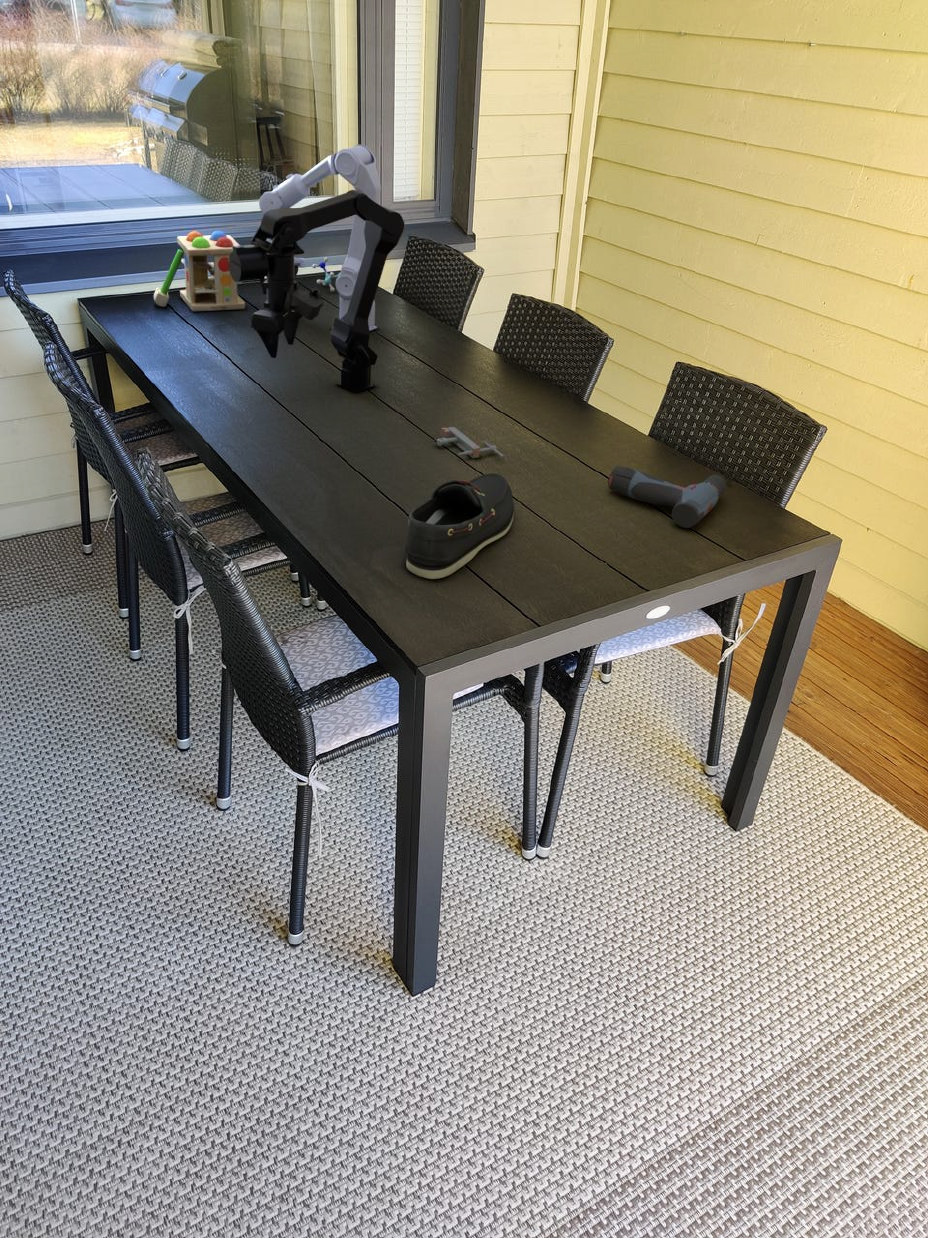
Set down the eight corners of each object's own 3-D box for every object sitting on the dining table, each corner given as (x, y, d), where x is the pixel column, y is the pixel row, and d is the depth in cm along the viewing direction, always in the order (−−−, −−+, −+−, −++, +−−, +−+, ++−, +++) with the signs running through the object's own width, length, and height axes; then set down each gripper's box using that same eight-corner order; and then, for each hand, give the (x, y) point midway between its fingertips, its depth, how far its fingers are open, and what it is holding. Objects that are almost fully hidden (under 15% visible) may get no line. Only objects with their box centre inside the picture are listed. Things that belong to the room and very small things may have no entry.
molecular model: (344, 283, 280) (333, 248, 279) (317, 296, 284) (305, 261, 282) (361, 286, 290) (350, 252, 289) (334, 298, 294) (323, 265, 293)
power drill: (637, 467, 202) (729, 498, 194) (598, 499, 188) (695, 533, 180) (642, 443, 199) (736, 473, 191) (602, 474, 185) (701, 507, 177)
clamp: (428, 429, 204) (470, 423, 208) (427, 439, 205) (469, 432, 209) (464, 459, 193) (507, 451, 198) (463, 469, 194) (506, 461, 199)
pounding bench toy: (159, 313, 256) (153, 242, 246) (148, 297, 266) (141, 228, 256) (246, 308, 265) (243, 239, 255) (232, 293, 276) (228, 226, 266)
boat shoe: (539, 516, 182) (544, 464, 176) (440, 585, 158) (443, 528, 152) (480, 497, 187) (483, 446, 182) (376, 561, 163) (376, 505, 158)
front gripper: (300, 294, 193) (301, 371, 201) (333, 271, 208) (333, 343, 216) (247, 286, 194) (250, 362, 203) (284, 263, 209) (285, 335, 218)
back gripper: (247, 243, 249) (249, 297, 256) (304, 245, 252) (305, 298, 259) (246, 236, 254) (248, 289, 262) (303, 238, 257) (303, 290, 265)
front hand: (282, 350), depth 210 cm, fingers open, 9 cm apart
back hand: (276, 293), depth 261 cm, fingers closed on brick, 6 cm apart
